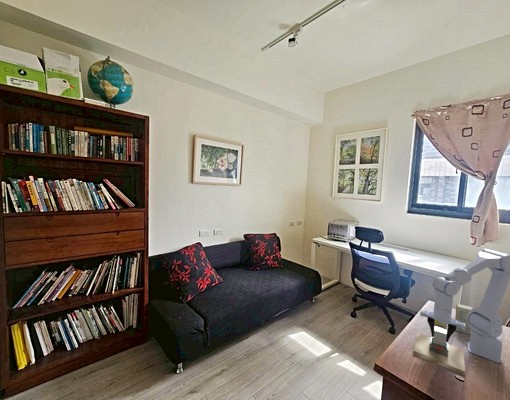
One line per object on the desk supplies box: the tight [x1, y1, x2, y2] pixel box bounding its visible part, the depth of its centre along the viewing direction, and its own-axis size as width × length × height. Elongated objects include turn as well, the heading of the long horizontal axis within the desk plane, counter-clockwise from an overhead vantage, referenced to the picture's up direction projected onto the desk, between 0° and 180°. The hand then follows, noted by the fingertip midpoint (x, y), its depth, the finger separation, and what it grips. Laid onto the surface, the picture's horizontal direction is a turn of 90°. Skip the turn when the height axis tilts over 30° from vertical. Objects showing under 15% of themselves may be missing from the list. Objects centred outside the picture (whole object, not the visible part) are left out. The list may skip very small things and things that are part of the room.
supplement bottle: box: [434, 320, 448, 329], centre depth 117 cm, size 5×5×10 cm
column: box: [433, 325, 447, 348], centre depth 97 cm, size 4×4×8 cm
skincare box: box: [454, 303, 474, 335], centre depth 114 cm, size 6×4×12 cm
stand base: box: [412, 332, 466, 376], centre depth 97 cm, size 16×16×2 cm
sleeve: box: [429, 336, 449, 357], centre depth 97 cm, size 6×7×3 cm
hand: (439, 338), depth 97 cm, fingers closed on column, 4 cm apart
